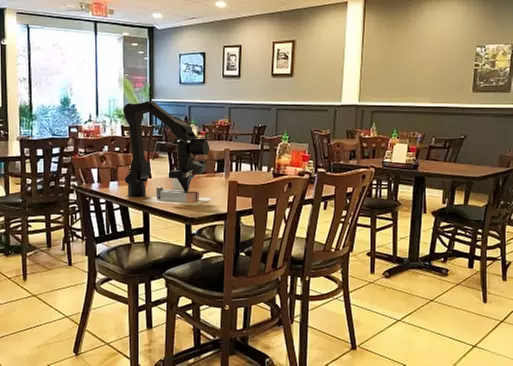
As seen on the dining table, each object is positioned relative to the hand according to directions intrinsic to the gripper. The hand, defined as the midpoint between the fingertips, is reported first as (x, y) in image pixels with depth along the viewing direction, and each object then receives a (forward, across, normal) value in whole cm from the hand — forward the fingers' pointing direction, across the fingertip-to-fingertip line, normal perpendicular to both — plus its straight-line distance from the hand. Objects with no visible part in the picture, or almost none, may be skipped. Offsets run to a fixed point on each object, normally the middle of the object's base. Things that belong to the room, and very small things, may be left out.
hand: (186, 192), depth 213 cm
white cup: (+4, +25, +16) cm, 30 cm away
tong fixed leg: (+3, -5, +2) cm, 6 cm away
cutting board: (+3, -1, +3) cm, 5 cm away
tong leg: (+2, -2, +4) cm, 5 cm away
